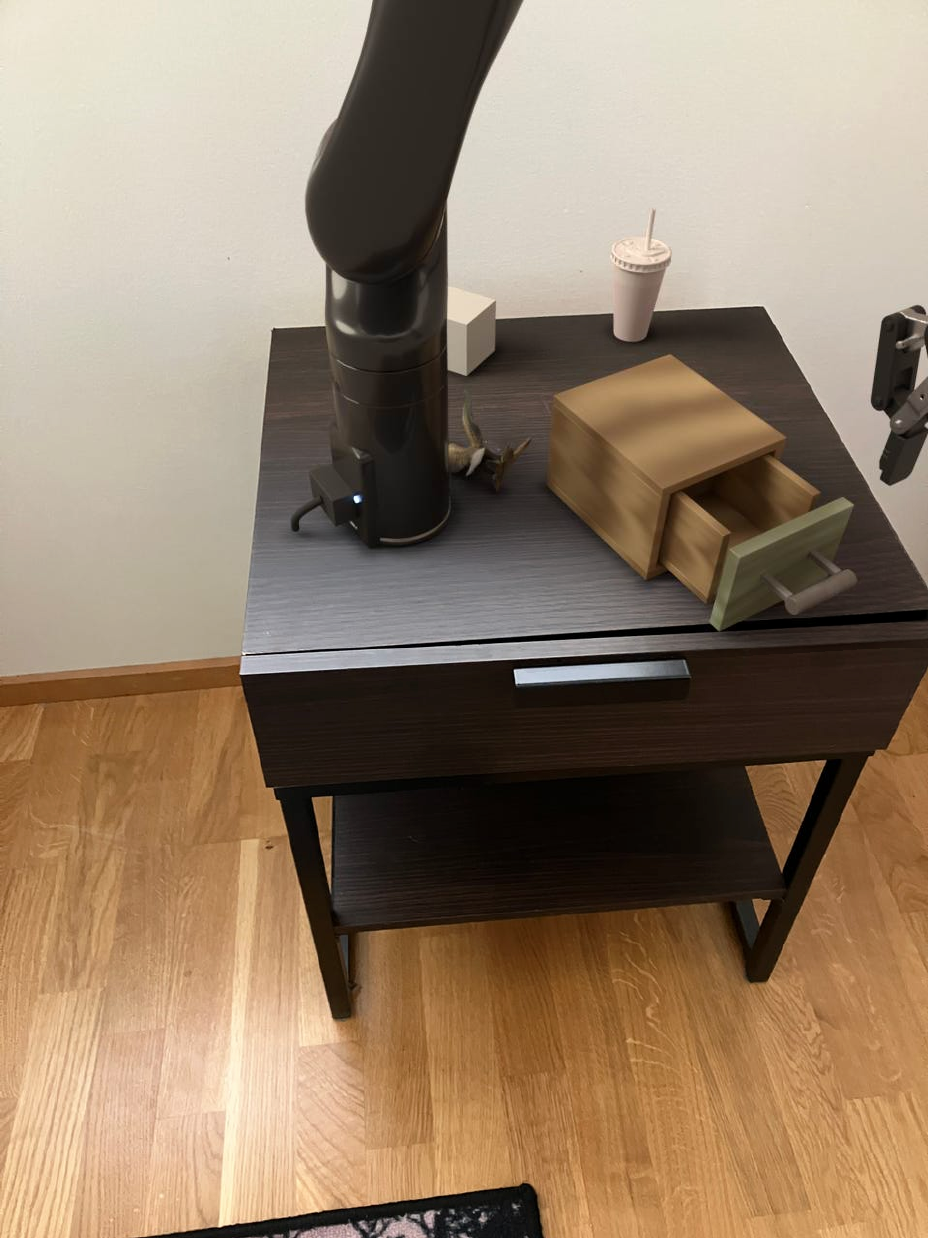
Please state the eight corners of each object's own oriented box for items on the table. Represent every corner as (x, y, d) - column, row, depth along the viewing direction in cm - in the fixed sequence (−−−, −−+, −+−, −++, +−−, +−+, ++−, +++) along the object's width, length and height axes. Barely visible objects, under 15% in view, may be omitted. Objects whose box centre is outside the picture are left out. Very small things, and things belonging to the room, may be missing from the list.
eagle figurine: (541, 455, 90) (473, 402, 93) (525, 425, 84) (453, 369, 87) (488, 516, 91) (422, 462, 94) (468, 491, 84) (398, 433, 87)
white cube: (419, 360, 104) (417, 309, 100) (448, 335, 108) (447, 285, 103) (466, 376, 102) (466, 324, 98) (495, 350, 105) (496, 299, 101)
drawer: (865, 610, 77) (897, 536, 71) (756, 666, 73) (781, 593, 67) (716, 489, 87) (733, 416, 82) (613, 533, 83) (624, 459, 77)
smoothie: (656, 350, 105) (677, 225, 95) (598, 344, 106) (612, 219, 96) (660, 321, 110) (680, 198, 99) (604, 315, 110) (618, 192, 100)
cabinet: (760, 528, 85) (787, 437, 78) (645, 580, 80) (663, 488, 73) (654, 442, 94) (670, 353, 87) (546, 485, 89) (553, 394, 82)
